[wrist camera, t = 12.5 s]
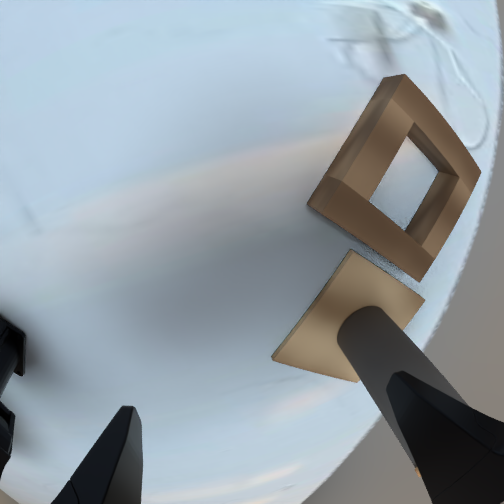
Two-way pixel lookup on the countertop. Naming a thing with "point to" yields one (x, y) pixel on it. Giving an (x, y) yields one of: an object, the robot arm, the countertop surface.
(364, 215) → the wooden square frame
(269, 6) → the countertop surface
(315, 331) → the cork mat
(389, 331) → the plug
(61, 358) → the countertop surface
